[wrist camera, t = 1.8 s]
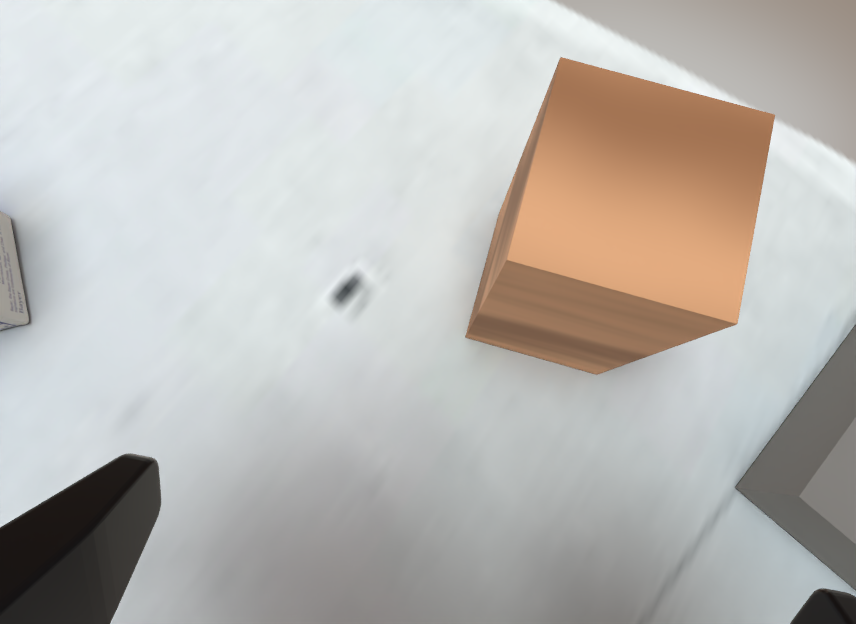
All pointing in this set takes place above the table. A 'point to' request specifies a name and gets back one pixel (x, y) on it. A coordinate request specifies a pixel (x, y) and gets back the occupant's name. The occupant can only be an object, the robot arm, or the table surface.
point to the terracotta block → (623, 222)
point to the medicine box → (10, 279)
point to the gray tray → (815, 467)
